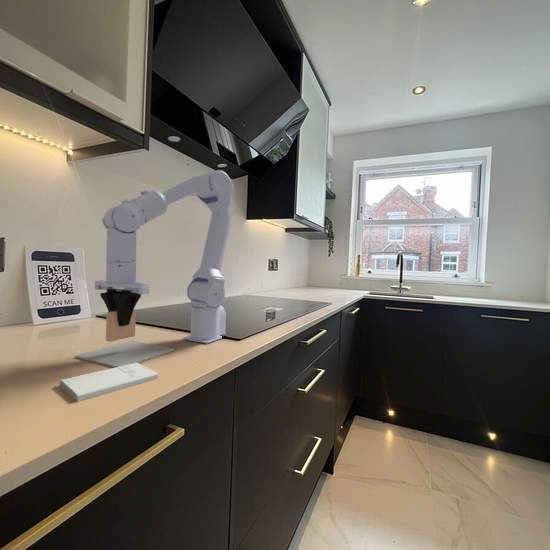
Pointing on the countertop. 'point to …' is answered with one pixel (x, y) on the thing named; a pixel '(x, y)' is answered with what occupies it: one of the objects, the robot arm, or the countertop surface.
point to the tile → (119, 327)
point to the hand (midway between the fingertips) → (120, 324)
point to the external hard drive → (107, 381)
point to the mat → (125, 354)
